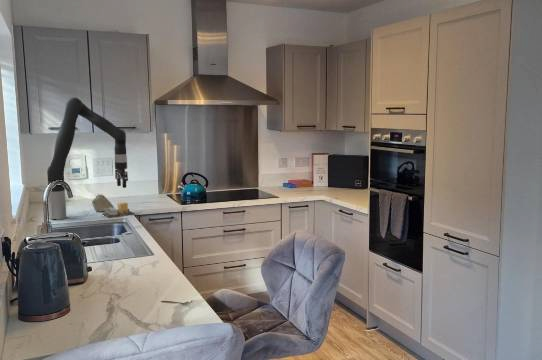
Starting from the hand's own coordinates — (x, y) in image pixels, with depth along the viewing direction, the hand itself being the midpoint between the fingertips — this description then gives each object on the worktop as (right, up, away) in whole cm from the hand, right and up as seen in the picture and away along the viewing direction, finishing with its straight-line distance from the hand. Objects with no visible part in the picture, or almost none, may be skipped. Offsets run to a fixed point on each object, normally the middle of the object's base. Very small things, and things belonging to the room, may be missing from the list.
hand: (121, 186), depth 316 cm
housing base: (-3, -18, 0) cm, 18 cm away
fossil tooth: (-15, -16, +12) cm, 25 cm away
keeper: (-6, -17, -2) cm, 18 cm away
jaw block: (0, -16, +2) cm, 17 cm away
